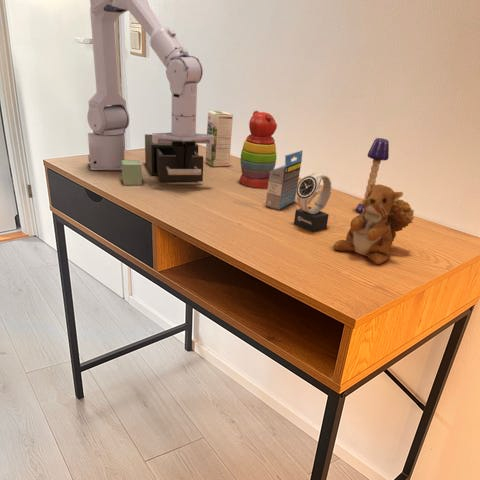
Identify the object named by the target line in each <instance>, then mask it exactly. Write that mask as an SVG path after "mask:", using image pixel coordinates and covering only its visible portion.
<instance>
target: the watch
mask: <svg viewBox="0 0 480 480" xmlns="http://www.w3.org/2000/svg"><path fill="white" fill-rule="evenodd" d="M321 183H322V189H321V190H320V185H321ZM331 194H332V180H331V179H330V177H329V176H328V175H325V174H323V173H322V174H321V173H318V172H314V173H310V174H308V175H307V176H305V177H302V179H301V180H300V181H298V185H297V189H296V200H297V203H298V207H299V208H298V209H295V212H294V221H293V225H296V226H298V227H300V228H303V229H304V230H307V231H310V232H312V233H314V232H318V231H322V230H325V229H327V227H328V221H329V215H330V214H329V213H327V212H324V211H322V210H324V209H325V207H326V205H327V204H328V201H329V199H330V198H331ZM317 195H318V197H317ZM316 197H317V199H316V201H314V205H313V206H312V207H311V206H308V205H310V203H311V202H312V200H313V199H314V198H316Z"/></svg>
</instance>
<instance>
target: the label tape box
mask: <svg viewBox="0 0 480 480" xmlns="http://www.w3.org/2000/svg"><path fill="white" fill-rule="evenodd" d="M294 158H296V159H295V160H292V159H294ZM302 159H303V150H298V151H296V152H292V153H289V154H285V155H284V165H282V166H279V167H277V168H276V167H275V168H274V170H271V171H270V175H269V183H268V188H267V191H266V199H265V207H268V208H271V209H274V210H281V209H283V208H285V207H286V206H288V205H290V204H292V203H294V202H295V201H296V198H297V192H296V189H297V185H298V184H299V180H300V179H299V178H300V172H301V168H302V167H301V166H302V161H303V160H302Z"/></svg>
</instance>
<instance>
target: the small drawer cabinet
mask: <svg viewBox="0 0 480 480" xmlns="http://www.w3.org/2000/svg"><path fill="white" fill-rule="evenodd" d="M195 145H196V149H195V151H196V152H197V153H198V154H199V145H198V143H195ZM154 148H173V147H172V145H171V143H153V141H152V134H146V133H145V134H144V151H145V152H144V160H145V165H146V167H147V169H148V171H149V173H150V175H151V176H153V177H156V176H157V177H158V173H157V172H156V170H155V168H154Z"/></svg>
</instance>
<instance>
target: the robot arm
mask: <svg viewBox="0 0 480 480" xmlns="http://www.w3.org/2000/svg"><path fill="white" fill-rule="evenodd" d="M89 3H90V8H89V10H90V11H89V15H90V26H91V27H90V28H91V38H92V39H91V40H92V50H93V65H94V75H95V77H94V78H95V89H96V90H95V91H96V92H95V93H94V94H93V96H91V98H90V99H89V100H88V111H87V116H86V118H87V119H86V120H87V123H88V126H89V127H90V130H92V132H87V140H88V141H87V143H88V155H87V157H88V158H87V159H88V162H89V166H90V170H91V171H122V161H121V160H126V159H125V141H124V140H125V138H124V137H125V136H124V134H125V133H126V129H128V127H129V125H130V114H129V111H128V108H127V101H126V100H125V98H124V97H122V95H121V94H120V93H119V77H118V60H117V43H116V42H117V41H116V28H115V22H116V21H117V20H118V19H119V18H120V16H121V15H123V14H125V13H126V12H129V13H130V14H131V15H132V17H133V18H134V19H135V20H136V21H137V23H138V24H139V25H140V26H141V28H142V29H143V30H144V32H145V33H146V34H147V35H148V36H149V45H150V47H151V49H152V51H153V52H154V53H155V54H156V56H157V57H158V59H159V60H160V61H161V63H162V64H163V66H164V67H165V68H166V69H165V75H166V78H167V81H168V83H169V90H170V92H171V129H170V130H171V131H170V132H152V134H151V135H152V141H153V143H171V145H172V147H173V149H174V152H175V155H176V158H177V161H178V165H179V169H188V165H189V162H190V160H191V157H192V155H193V153H194V152H195V149H196V145H195V143H196V144H201V145H203V144H204V145H206V144H214V136H213V135H209V134H207V133H197V104H198V103H197V102H198V101H197V100H198V98H197V97H198V84H199V83H200V82H201V80H202V78H203V74H204V70H203V69H204V68H203V65H202V63H201V62H200V59H199V58H198V57H197V56H195V55H190V53H189V52H188V51H189V50H187V48H185V47H184V46H183V45H182V43H181V42H180V41H179V39H178V38H177V36H176V35H177V32H176V31H175V30H174V29H171V28H170V27H167V26H163V25H162V24H161V22H160V21H159V19H158V18H157V16H156V14H155V13H154V11H153V10H152V7H151V6H150V5H149V3H148V2H147V0H89Z"/></svg>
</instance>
